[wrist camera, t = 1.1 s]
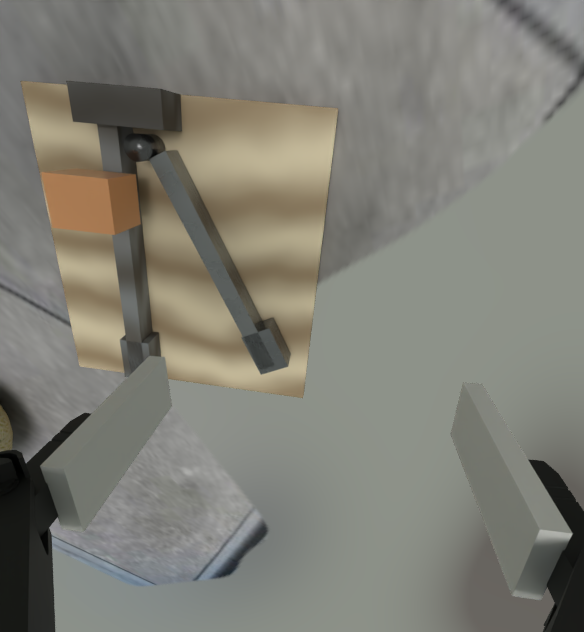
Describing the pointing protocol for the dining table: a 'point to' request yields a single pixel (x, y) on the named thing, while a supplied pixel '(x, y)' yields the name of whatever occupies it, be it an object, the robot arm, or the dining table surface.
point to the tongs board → (171, 236)
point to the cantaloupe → (5, 431)
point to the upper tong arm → (211, 251)
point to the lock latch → (92, 200)
